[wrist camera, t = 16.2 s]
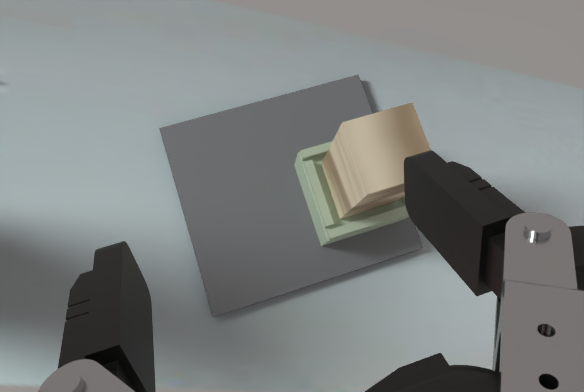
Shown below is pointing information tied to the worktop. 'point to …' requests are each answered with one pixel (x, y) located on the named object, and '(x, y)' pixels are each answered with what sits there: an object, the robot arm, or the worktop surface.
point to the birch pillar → (372, 159)
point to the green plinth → (324, 206)
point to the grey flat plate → (268, 196)
